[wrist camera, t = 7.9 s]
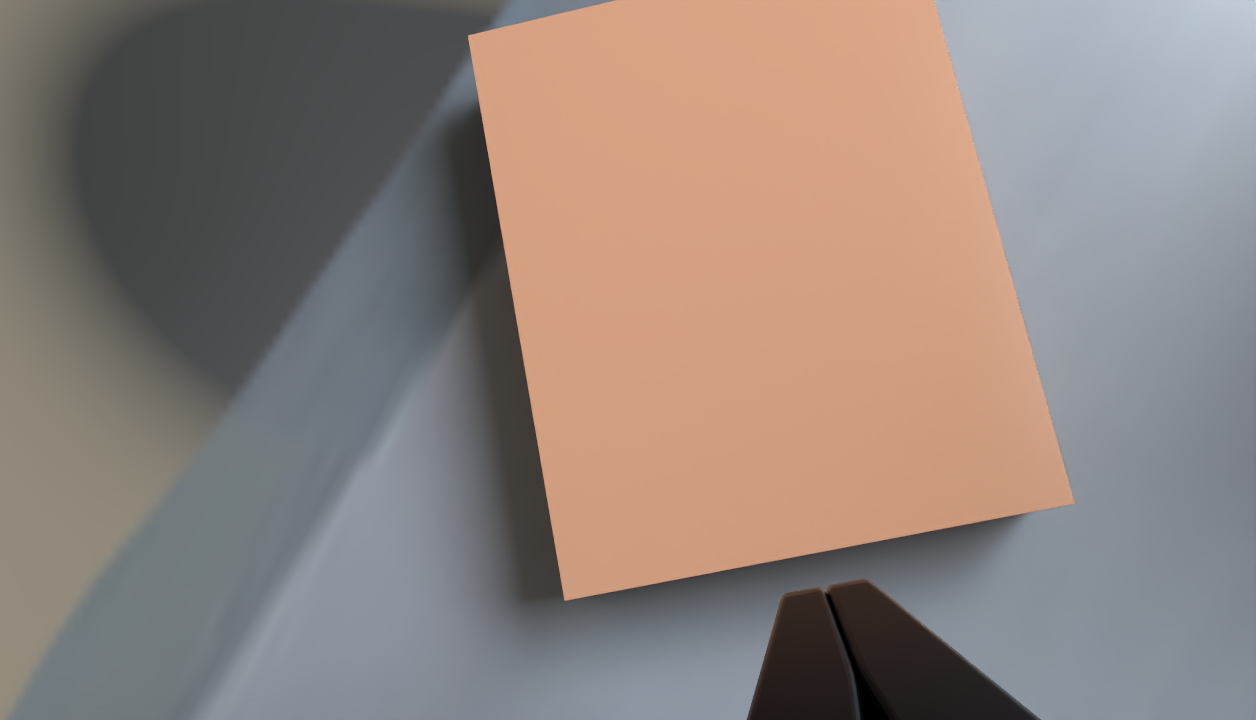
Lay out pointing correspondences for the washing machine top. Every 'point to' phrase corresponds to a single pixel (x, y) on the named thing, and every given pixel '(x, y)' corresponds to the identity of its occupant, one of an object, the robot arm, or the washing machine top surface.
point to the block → (755, 285)
